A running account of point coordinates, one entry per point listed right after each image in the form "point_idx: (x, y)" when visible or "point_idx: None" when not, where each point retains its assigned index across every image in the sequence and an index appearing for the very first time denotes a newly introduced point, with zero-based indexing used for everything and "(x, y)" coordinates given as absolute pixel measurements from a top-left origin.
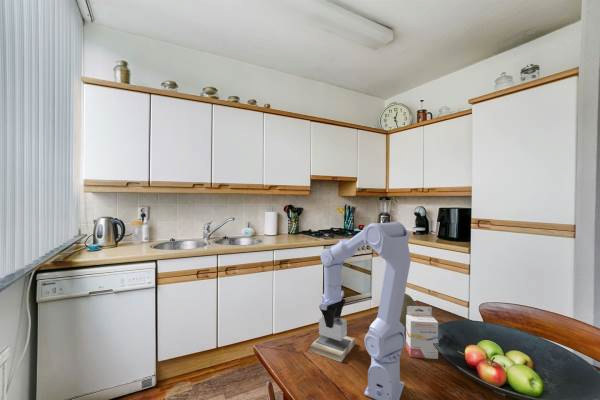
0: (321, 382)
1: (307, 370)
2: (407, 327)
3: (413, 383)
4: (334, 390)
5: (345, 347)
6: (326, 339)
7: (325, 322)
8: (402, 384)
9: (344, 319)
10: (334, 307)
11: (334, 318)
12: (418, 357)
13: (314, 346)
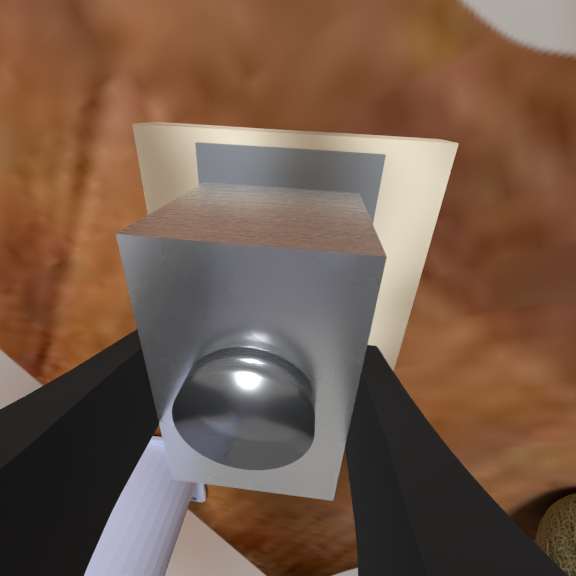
0: (7, 296)
1: (5, 203)
2: None
3: (231, 510)
4: (20, 349)
5: None
6: None
7: (108, 352)
8: (196, 498)
9: (324, 488)
10: (388, 558)
11: (222, 448)
12: None
13: (142, 166)
